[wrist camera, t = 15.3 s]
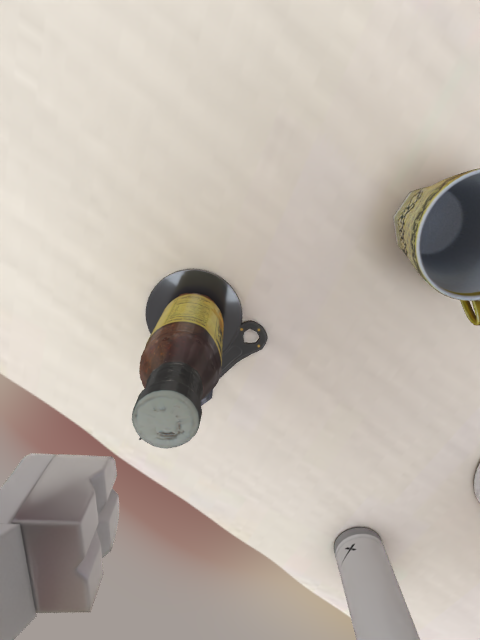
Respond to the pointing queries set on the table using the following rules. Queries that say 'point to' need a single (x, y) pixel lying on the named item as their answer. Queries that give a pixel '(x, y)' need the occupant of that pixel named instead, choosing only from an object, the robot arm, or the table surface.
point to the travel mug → (372, 588)
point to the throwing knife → (239, 350)
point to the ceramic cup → (445, 237)
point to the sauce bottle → (179, 370)
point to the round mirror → (198, 284)
